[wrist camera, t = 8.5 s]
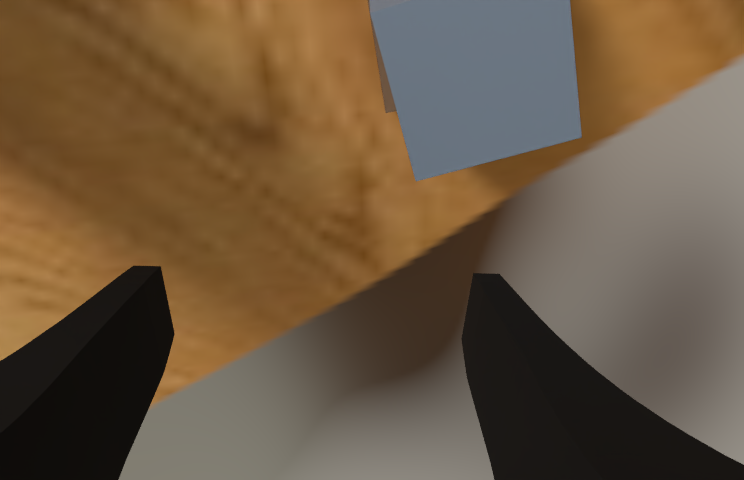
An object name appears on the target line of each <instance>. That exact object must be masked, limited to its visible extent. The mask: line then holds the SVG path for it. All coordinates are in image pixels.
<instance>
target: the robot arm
mask: <svg viewBox="0 0 744 480" xmlns="http://www.w3.org/2000/svg"><path fill="white" fill-rule="evenodd" d="M173 338H174V329H173V324H172V319H171V314H170V310H169V305H168V300H167V295H166V290H165V285H164V281H163V276H162V271H161V266H133V267H131V268H130V269H128V270H127V271H125V272H124V273H123V274H121V275H120V276H119V277H117V278H116V279H115V280H113V281H112V282H111V283H110V284H108V285H107V286H106V287H104V288H103V289H102V290H101V291H99V292H98V293H97V294H95V295H94V296H93V297H91V298H90V299H89V300H88V301H86V302H85V303H84V304H82V305H81V306H80V307H78V308H77V309H76V310H74V311H73V312H72V313H70V314H69V315H68V316H66V317H65V318H64V319H62V320H61V321H59V322H58V323H57V324H55V325H54V326H52V327H51V328H49V329H48V330H46V331H45V332H44V333H42V334H41V335H39V336H38V337H36V338H35V339H33V340H32V341H31V342H29V343H28V344H26V345H25V346H23V347H22V348H20V349H19V350H17V351H16V352H14V353H13V354H11V355H9V356H8V357H6V358H5V359H3V360H1V361H0V480H118V479H119V476H120V474H121V471H122V469H123V466H124V464H125V461H126V458H127V456H128V454H129V452H130V449H131V447H132V445H133V443H134V440H135V438H136V436H137V434H138V431H139V429H140V427H141V424H142V422H143V420H144V418H145V415H146V413H147V411H148V408H149V406H150V404H151V402H152V399H153V397H154V395H155V392H156V390H157V388H158V385H159V383H160V381H161V378H162V376H163V373H164V370H165V367H166V363H167V360H168V357H169V353H170V349H171V345H172V342H173ZM462 345H463V353H464V360H465V367H466V373H467V379H468V383H469V386H470V390H471V394H472V398H473V401H474V405H475V409H476V412H477V416H478V419H479V422H480V426H481V430H482V433H483V437H484V441H485V444H486V448H487V452H488V455H489V459H490V462H491V467H492V471H493V475H494V479H495V480H744V465H743V464H741V463H739V462H737V461H735V460H733V459H731V458H729V457H727V456H725V455H723V454H722V453H720V452H718V451H716V450H714V449H713V448H711V447H709V446H708V445H706V444H704V443H702V442H700V441H699V440H697V439H695V438H693V437H692V436H690V435H688V434H686V433H685V432H683V431H682V430H680V429H679V428H677V427H675V426H674V425H672V424H670V423H669V422H667V421H666V420H664V419H663V418H661V417H659V416H658V415H657V414H655V413H654V412H652V411H651V410H649V409H647V408H646V407H645V406H643V405H642V404H640V403H639V402H637V401H636V400H634V399H633V398H631V397H630V396H629V395H627V394H626V393H624V392H623V391H622V390H620V389H619V388H618V387H617V386H615V385H614V384H613V383H611V382H610V381H609V380H608V379H606V378H605V377H604V376H602V375H601V374H600V373H599V372H597V371H596V370H595V369H594V368H593V367H591V366H590V365H589V364H588V363H587V362H586V361H584V360H583V359H582V358H581V357H580V356H579V355H578V354H577V353H576V352H574V351H573V350H572V349H571V348H570V347H569V346H568V345H567V344H565V342H563V341H562V340H561V339H560V338H559V337H558V336H557V335H556V334H555V333H554V332H553V331H552V330H551V329H550V328H549V327H548V326H547V325H546V324H545V323H544V322H543V321H542V320H541V319H540V318H539V317H538V316H537V315H536V314H535V312H534V311H533V310H531V308H530V307H529V306H528V305H527V304H526V303H525V302H524V301H523V300H522V298H521V297H520V296H519V295H518V294H517V293H516V292H515V291H514V290H513V288H512V287H511V286H510V285H509V284H508V283H507V282H506V281H505V280H504V279H503V277H502V276H501V275H500V274H479V273H474V274H473V279H472V284H471V289H470V295H469V300H468V306H467V312H466V317H465V323H464V329H463V334H462Z"/></svg>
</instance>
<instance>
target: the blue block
mask: <svg viewBox="0 0 744 480" xmlns="http://www.w3.org/2000/svg"><path fill="white" fill-rule="evenodd" d="M370 15H371V18H372V22H373V26H374V29H375V33H376V37H377V40H378V44H379V48H380V51H381V55H382V59H383V62H384V66H385V70H386V73H387V77H388V81H389V84H390V88H391V92H392V95H393V99H394V103H395V106H396V110H397V114H398V117H399V121H400V125H401V128H402V132H403V136H404V139H405V143H406V147H407V150H408V154H409V158H410V161H411V165H412V169H413V172H414V176H415V180H416V181H419V180H423V179H427V178H430V177H434V176H438V175H442V174H446V173H449V172H453V171H457V170H461V169H464V168H468V167H472V166H476V165H480V164H483V163H487V162H491V161H495V160H499V159H502V158H506V157H510V156H514V155H517V154H521V153H525V152H529V151H533V150H536V149H540V148H544V147H548V146H551V145H555V144H559V143H563V142H567V141H570V140H574V139H578V138H582V134H581V123H580V111H579V100H578V88H577V77H576V65H575V53H574V42H573V30H572V19H571V7H570V0H370Z"/></svg>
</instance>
